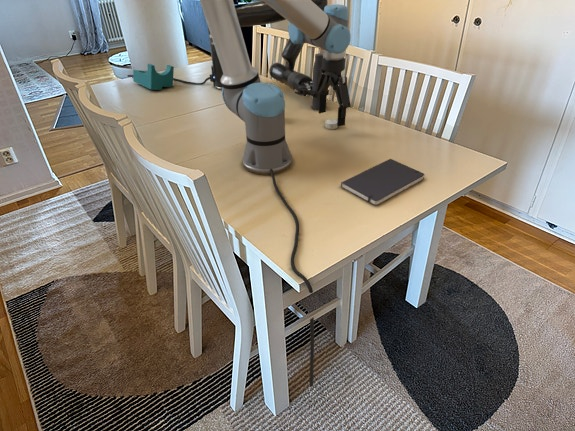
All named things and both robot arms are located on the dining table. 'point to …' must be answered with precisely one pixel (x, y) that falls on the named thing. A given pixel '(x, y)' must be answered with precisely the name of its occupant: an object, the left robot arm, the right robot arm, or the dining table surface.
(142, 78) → the teal notched cradle block
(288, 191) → the dining table surface
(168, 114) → the dining table surface
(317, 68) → the bottle
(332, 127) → the cap
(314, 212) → the dining table surface
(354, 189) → the notebook
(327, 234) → the dining table surface
